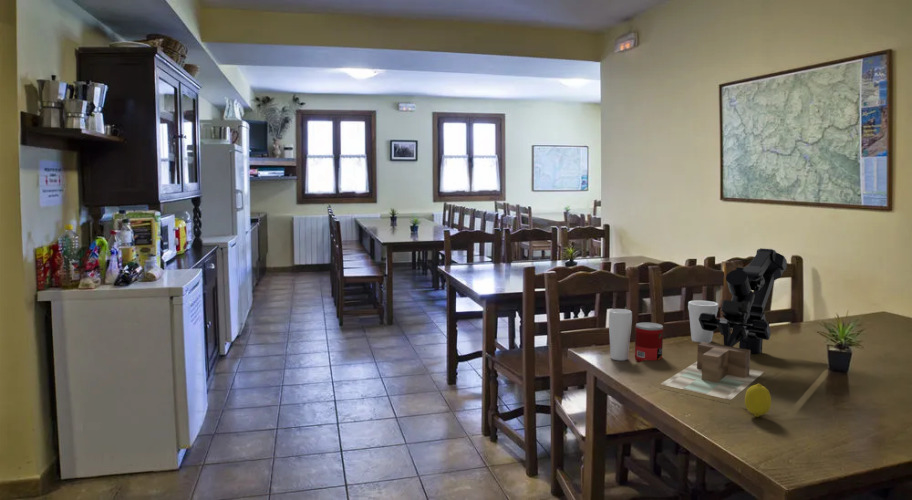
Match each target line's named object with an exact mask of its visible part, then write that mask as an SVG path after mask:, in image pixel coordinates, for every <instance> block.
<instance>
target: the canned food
mask: <svg viewBox="0 0 912 500" xmlns="http://www.w3.org/2000/svg"><path fill="white" fill-rule="evenodd" d="M634 338H635V339H634V358H635V361H637V362H638V363H641V362H644V361H659V360H662V359H663V347H664V346H663V343H664V326H663V325H662V324H660V323H657V322H638V323H637V322H636V324H635V335H634Z"/></svg>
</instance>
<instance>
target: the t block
mask: <svg viewBox="0 0 912 500" xmlns="http://www.w3.org/2000/svg"><path fill="white" fill-rule="evenodd" d="M750 352H751V350H748V349H742V348H739V347H735V346H733V347H730V346H724V344H717V343H712V342H710V343H706V342H702V343H700V342H699V344H697V356H696V358H697V359H696V362H697V369H701V370H702V380H706V381H710V382H715V383H717V382H718V381H720V380H721V379H723V378H724V377H725V376H727V375H732V376H737V377H742V378H746V377H747V376H748V375H749V370H750V368H751V354H750Z"/></svg>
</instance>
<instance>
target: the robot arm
mask: <svg viewBox="0 0 912 500" xmlns="http://www.w3.org/2000/svg"><path fill="white" fill-rule="evenodd" d="M787 265H788V261H787V259H786V256H784V255H783V254H780V253H779V252H777V251H776V250H775V249H772V248H758V249H757V250H756V254H755V256H754V257H753V258H752V260H751V261H750V263H749V264H748V266H743V267H739V266H736V268H735V269H734V270H731V271H729V272H728V273H727V274H726V277H725V280H726V283H727V286H728V290H729V293H730V294H731V295H732V297H731V300H727V299H723V300H722V303H721V304H722V305H721V308H720V311H721V312H722V318H721V317H720V318H719V319H717V316H716V317H715V314H710V313H701V314H700V316H699V322H700V325H701V327H702V329H703V330H707V331H713V332H715V331H717V329H718V330H719V332H720V335H722V336H723V345H724V346H730V347H735V345H737V344H738V343H739V345H738V348H742V349H748V350H751V352H750V355H759V354H762V353H763V341H764V340H765V341H768V340H770V338H771V333H772V331H771V328H770V324H769V322H768V321H767V319H766V315H765V312H764V311H765V308H766V305H767V303H768V299H769V296H770V294H771V292H772V288H773V285H774V282H775V281H776V280H777V279H778V280H779V279H780V278H782V276H783V273H784V272H785V271H786V269H787ZM731 330H732V331H731Z"/></svg>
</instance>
